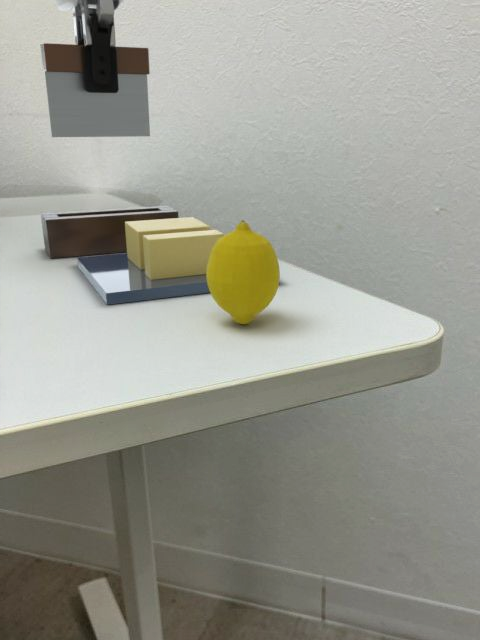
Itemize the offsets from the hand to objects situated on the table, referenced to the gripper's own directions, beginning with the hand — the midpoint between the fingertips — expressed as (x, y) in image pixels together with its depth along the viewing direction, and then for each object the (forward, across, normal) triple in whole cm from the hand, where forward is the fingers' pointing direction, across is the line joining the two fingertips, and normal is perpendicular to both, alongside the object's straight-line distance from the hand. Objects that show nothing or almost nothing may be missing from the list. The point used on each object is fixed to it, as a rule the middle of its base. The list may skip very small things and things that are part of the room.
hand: (98, 90), depth 66 cm
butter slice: (+15, +16, +3) cm, 22 cm away
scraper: (+4, 0, 0) cm, 4 cm away
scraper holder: (+16, 0, 0) cm, 16 cm away
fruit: (+16, +28, +4) cm, 32 cm away
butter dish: (+16, +13, +3) cm, 21 cm away
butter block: (+15, +11, +3) cm, 19 cm away
